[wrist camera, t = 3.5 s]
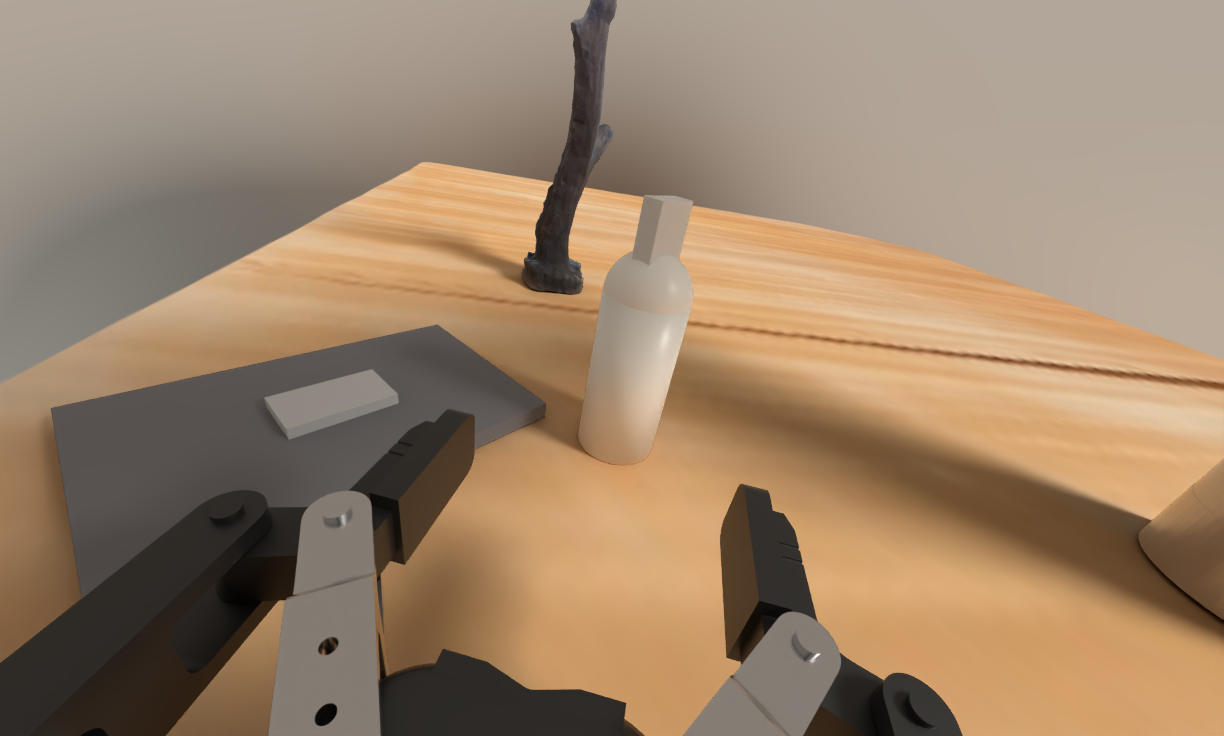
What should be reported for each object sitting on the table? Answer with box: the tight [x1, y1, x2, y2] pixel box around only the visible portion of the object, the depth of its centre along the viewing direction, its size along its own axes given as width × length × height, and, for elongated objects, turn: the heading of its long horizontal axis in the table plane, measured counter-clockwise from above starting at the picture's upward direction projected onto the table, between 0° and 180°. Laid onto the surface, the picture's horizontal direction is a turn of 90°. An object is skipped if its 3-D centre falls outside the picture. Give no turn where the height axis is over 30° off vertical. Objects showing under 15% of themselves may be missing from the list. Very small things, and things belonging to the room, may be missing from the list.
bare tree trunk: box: [522, 0, 617, 294], centre depth 39 cm, size 12×8×25 cm
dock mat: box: [51, 325, 546, 598], centre depth 22 cm, size 18×12×2 cm, turn 137°
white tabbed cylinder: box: [578, 195, 694, 465], centre depth 22 cm, size 4×4×14 cm
